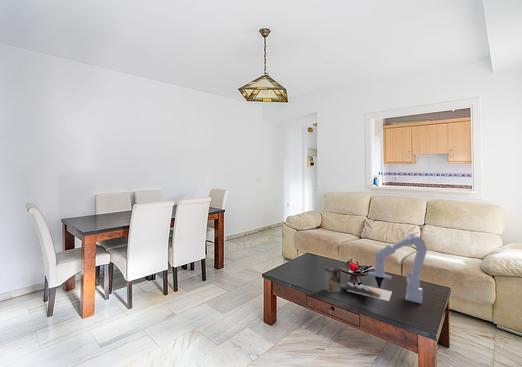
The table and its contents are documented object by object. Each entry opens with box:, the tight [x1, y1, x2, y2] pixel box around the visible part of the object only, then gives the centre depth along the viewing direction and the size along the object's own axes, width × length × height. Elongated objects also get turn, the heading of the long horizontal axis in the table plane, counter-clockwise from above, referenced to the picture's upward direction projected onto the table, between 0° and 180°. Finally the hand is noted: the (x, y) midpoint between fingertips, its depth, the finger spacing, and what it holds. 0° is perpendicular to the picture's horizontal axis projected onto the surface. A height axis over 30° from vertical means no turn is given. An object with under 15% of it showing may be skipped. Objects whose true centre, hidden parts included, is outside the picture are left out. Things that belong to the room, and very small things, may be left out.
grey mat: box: [346, 284, 393, 302], centre depth 197 cm, size 28×16×1 cm, turn 57°
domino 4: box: [361, 284, 373, 295], centre depth 194 cm, size 2×5×8 cm
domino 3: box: [353, 282, 365, 293], centre depth 197 cm, size 2×5×8 cm
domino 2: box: [346, 281, 357, 292], centre depth 200 cm, size 2×5×8 cm
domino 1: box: [340, 283, 351, 291], centre depth 203 cm, size 2×5×8 cm
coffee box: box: [324, 266, 341, 294], centre depth 198 cm, size 9×6×16 cm
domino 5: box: [368, 286, 382, 297], centre depth 192 cm, size 2×5×8 cm
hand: (379, 287), depth 190 cm, fingers closed
